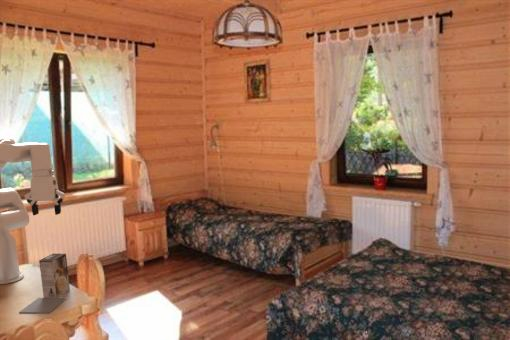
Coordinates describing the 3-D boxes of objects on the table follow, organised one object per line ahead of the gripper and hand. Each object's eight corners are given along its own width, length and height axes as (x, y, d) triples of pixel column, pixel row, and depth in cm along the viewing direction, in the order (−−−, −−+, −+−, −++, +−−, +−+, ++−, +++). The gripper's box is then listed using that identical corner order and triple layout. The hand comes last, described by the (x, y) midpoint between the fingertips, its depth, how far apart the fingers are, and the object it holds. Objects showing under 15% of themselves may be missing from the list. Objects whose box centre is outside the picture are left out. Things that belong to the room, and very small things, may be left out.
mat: (19, 313, 170) (19, 312, 170) (38, 298, 183) (38, 297, 183) (49, 313, 169) (49, 312, 169) (66, 298, 181) (66, 297, 181)
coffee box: (56, 289, 192) (53, 252, 190) (70, 289, 191) (66, 253, 189) (42, 298, 183) (38, 260, 181) (56, 298, 182) (52, 260, 180)
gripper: (67, 171, 187) (71, 211, 189) (28, 172, 189) (32, 212, 191) (57, 174, 179) (62, 216, 182) (16, 175, 181) (21, 217, 183)
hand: (46, 214), depth 186 cm, fingers open, 9 cm apart
